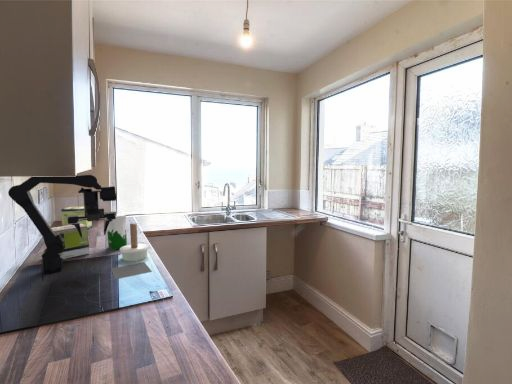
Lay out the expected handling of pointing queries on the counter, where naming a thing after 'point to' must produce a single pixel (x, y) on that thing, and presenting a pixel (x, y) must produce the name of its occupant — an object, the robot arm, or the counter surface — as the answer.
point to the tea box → (73, 240)
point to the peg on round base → (134, 242)
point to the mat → (130, 270)
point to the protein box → (74, 211)
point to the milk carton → (117, 232)
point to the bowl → (134, 256)
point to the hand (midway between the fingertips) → (93, 236)
